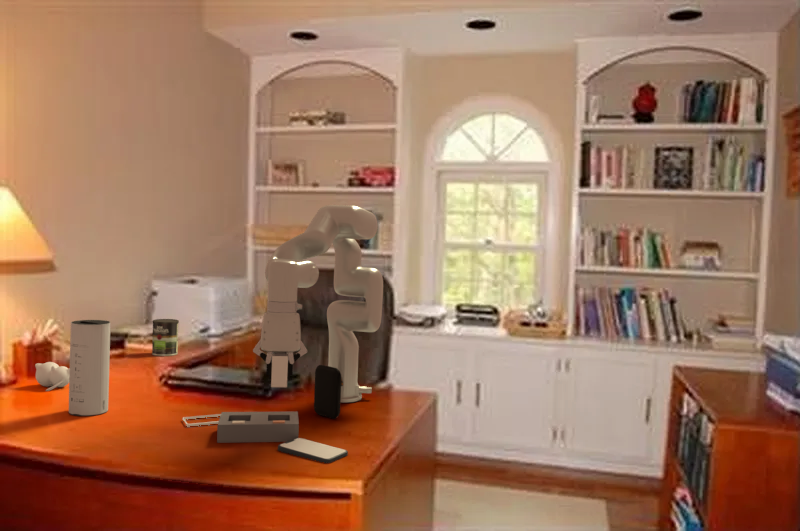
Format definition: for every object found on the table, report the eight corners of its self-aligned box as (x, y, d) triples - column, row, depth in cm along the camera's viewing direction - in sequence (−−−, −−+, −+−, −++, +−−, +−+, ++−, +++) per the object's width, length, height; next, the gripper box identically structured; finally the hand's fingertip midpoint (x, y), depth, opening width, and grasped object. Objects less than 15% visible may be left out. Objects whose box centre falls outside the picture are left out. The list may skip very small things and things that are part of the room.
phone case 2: (350, 457, 165) (298, 443, 173) (350, 450, 165) (299, 436, 173) (327, 467, 157) (275, 451, 165) (327, 460, 157) (275, 445, 165)
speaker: (117, 410, 195) (118, 320, 194) (86, 418, 186) (88, 323, 185) (90, 405, 200) (92, 316, 199) (59, 413, 190) (61, 320, 189)
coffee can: (170, 357, 278) (171, 322, 277) (147, 355, 279) (147, 321, 279) (182, 352, 288) (183, 319, 287) (159, 351, 289) (160, 318, 289)
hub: (297, 427, 185) (297, 410, 184) (298, 441, 173) (298, 422, 173) (221, 428, 181) (221, 410, 181) (217, 442, 169) (217, 423, 169)
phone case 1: (236, 417, 195) (181, 422, 188) (236, 412, 195) (182, 417, 188) (242, 423, 188) (186, 429, 181) (242, 419, 188) (187, 424, 181)
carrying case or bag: (344, 419, 194) (346, 368, 194) (337, 421, 192) (339, 370, 191) (318, 412, 201) (320, 363, 200) (311, 414, 199) (312, 364, 198)
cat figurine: (71, 359, 219) (42, 354, 223) (47, 382, 211) (18, 376, 215) (81, 379, 224) (53, 374, 228) (59, 402, 216) (30, 396, 220)
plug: (286, 384, 179) (288, 351, 179) (286, 387, 175) (288, 354, 175) (271, 383, 178) (272, 351, 178) (271, 387, 175) (272, 353, 174)
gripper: (313, 307, 181) (311, 375, 182) (249, 305, 179) (247, 375, 179) (315, 310, 174) (312, 381, 175) (248, 308, 171) (245, 381, 172)
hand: (279, 377), depth 177 cm, fingers closed on plug, 4 cm apart
